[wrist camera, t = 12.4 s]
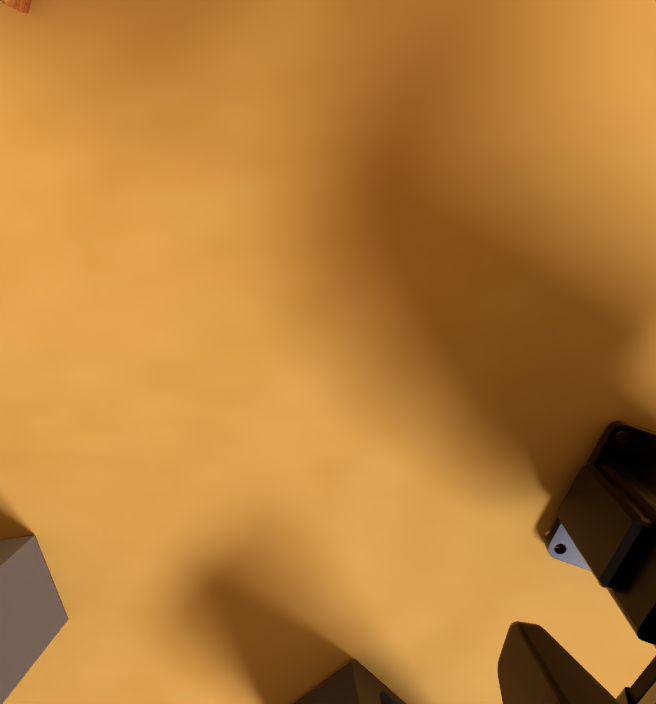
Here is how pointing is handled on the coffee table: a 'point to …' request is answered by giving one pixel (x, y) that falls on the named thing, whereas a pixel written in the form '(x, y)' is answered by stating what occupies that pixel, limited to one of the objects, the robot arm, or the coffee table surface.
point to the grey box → (25, 609)
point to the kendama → (18, 4)
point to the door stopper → (352, 689)
